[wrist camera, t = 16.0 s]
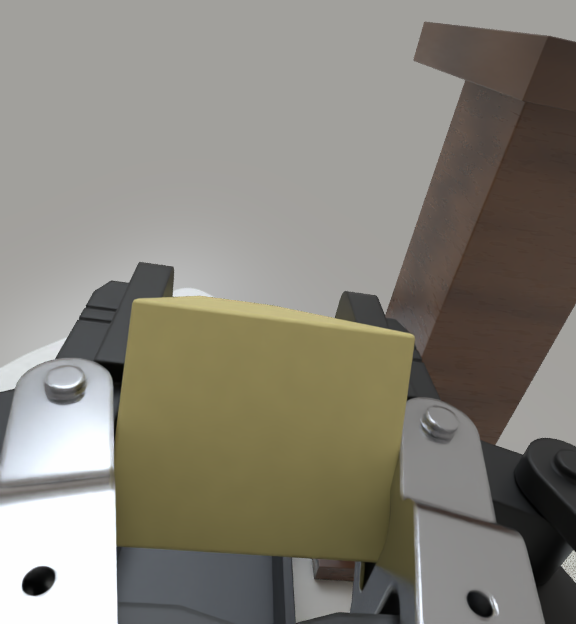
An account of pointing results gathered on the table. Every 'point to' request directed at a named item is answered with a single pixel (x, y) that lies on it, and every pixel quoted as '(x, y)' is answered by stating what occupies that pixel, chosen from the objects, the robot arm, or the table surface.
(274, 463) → the butter
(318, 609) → the table surface
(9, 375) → the table surface
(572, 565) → the table surface
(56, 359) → the robot arm
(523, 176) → the shelf stand
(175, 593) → the pan
